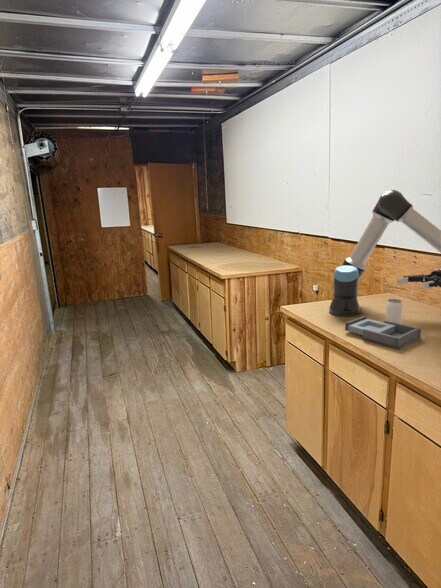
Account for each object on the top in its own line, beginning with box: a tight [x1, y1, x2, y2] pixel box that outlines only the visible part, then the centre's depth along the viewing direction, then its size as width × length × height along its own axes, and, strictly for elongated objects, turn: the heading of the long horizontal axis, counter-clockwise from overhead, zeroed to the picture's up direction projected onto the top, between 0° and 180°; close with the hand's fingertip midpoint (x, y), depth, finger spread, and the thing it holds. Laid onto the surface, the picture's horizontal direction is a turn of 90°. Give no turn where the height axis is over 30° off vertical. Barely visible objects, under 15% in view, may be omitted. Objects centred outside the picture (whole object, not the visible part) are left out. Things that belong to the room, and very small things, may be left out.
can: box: [385, 298, 403, 324], centre depth 177 cm, size 6×6×12 cm
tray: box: [344, 315, 396, 336], centre depth 170 cm, size 15×14×4 cm
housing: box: [361, 319, 422, 351], centre depth 163 cm, size 16×18×4 cm
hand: (409, 284), depth 178 cm, fingers open, 13 cm apart
